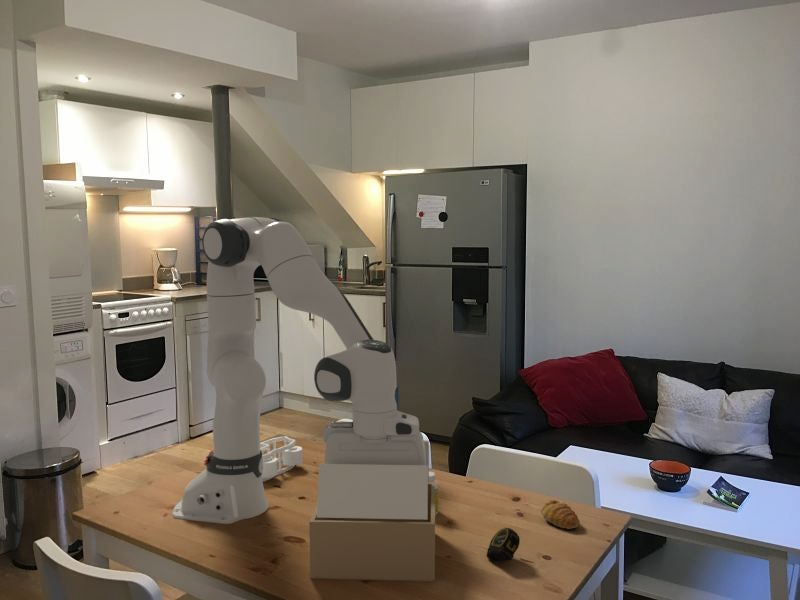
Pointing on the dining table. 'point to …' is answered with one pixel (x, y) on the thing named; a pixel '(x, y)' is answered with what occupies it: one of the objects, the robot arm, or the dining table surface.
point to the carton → (374, 547)
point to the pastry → (560, 515)
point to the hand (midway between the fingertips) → (375, 489)
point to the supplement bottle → (431, 479)
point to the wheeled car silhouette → (279, 457)
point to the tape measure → (503, 545)
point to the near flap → (373, 491)
